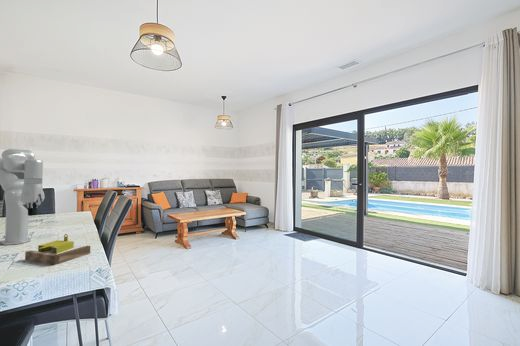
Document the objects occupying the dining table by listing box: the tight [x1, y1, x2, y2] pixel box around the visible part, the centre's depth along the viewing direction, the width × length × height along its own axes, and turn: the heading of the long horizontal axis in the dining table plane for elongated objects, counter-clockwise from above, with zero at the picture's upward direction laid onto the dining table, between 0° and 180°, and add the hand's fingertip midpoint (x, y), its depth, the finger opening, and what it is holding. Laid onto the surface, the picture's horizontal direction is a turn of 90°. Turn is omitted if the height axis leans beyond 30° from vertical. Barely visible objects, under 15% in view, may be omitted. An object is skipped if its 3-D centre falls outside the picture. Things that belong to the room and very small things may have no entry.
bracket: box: [37, 233, 75, 254], centre depth 132 cm, size 16×8×15 cm
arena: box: [24, 245, 91, 266], centre depth 124 cm, size 19×18×4 cm
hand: (32, 215), depth 136 cm, fingers closed
